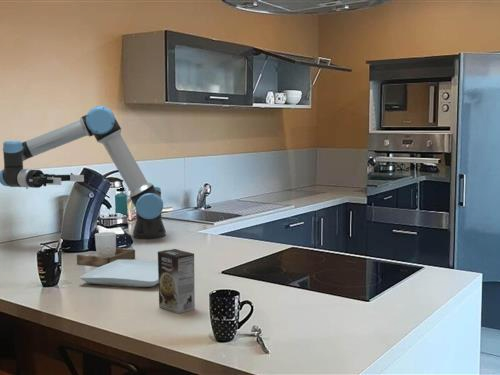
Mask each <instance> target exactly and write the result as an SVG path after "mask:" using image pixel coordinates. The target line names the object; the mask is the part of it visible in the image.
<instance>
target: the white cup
mask: <svg viewBox="0 0 500 375" xmlns="http://www.w3.org/2000/svg"><path fill="white" fill-rule="evenodd" d="M94 241H95V242H94V243H95V251H96V256H99V257H112V256H115V252H116V248H117V233H116V232H115V231H114V232H113V231H104V232H103V231H101V232H97V233H95V234H94Z"/></svg>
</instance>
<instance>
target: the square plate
mask: <svg viewBox="0 0 500 375" xmlns="http://www.w3.org/2000/svg"><path fill="white" fill-rule="evenodd" d="M79 279H81V280H82V281H84V282H85V283H88V284H94V285H95V284H96V285H103V286H104V285H105V286H118V287H131V286H134V287H136V288H148V287H154V286H156V285H157V284H159V280H158V259H157V260H155V259H132V260H116V261H113V262H111V263H108V264H106V265H103V266H101V267H99V266H97V267H96V268H93V269H92V270H90V271H88V272H86V273H84V274H83V275H80V276H79Z"/></svg>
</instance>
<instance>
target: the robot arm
mask: <svg viewBox="0 0 500 375" xmlns="http://www.w3.org/2000/svg"><path fill="white" fill-rule="evenodd" d="M122 130H123V129H122V128H121V126H120V124H119V122H118V120H117V118H116V117H115V114H114V112H113V111H112V110H111V109H110V108H108V107H106V106H104V105H103V106H102V105H96V106H95V107H92V108H91V109H90V110H89V111H88V112H87V114H85V115H82V116H81V117H80V119H79V120H77V121H74V122H71V123H69V124H66V125H64V126H61V127H58V128H56V129H54V130H53V129H52V130H50V131H48V132H46V133H43V134H41V135H38V136H35V137H33V138H31V139H27V140H26V141H23V142H22V141H20V140H7V141H5V140H4V142H3V144H2V146H3V147H2V154H3V169H2V170H0V184H1V185H2V186H4V187H10V188H25V189H27V190H28V189H29V188H32V189H33V188H35V189H38V188H39V189H40V188H41V187H42V186H43V187H47V185H54V186H61V185H62V182H73V183H74V182H75V183H76V182H78V183H81V182H82V183H83V182H85V178H84V177H85V175H84V174H74V173H73V172H71V173H70V174H51V173H44V172H43V170H41V169H31V168H30V169H29V168H25V169H24V161H27V160H29V159H30V158H33V157H35V156H39V155H40V154H44V153H46V152H48V151H50V150H53V149H56V148H58V147H59V148H60V147H61V146H64V145H66V144H69V143H71V142H73V141H76V140H80V139H82V138H84V137H89V138H90V137H93V136H94V138H95V140H96V142H97V143H100V144H102V145H103V147H104V149H105V150H106V151H107V154H108V156H110V159H111V161H112V162H113V164H114V165H115V167H116V170H117V171H118V173H119V174H120V176H121V178H122V179H123V180H122V181H124V183H125V185H126V186H127V188H128V190H129V196H128V197H129V199H130V201H131V202H132V203H133V206H134V207H135V214H136V215H135V216H136V218H135V219H136V220H135V224H134V227H133V231H132V237H133V238H135V239H146V240H147V239H157V238H163V237H165V236H166V235H167V234H166V228H165V225H164V223H163V219H162V212H163V210H164V201H163V199H162V191H161V187H159V186H154V184H153V183H151V182H148V180H147V178H146V177H145V175H144V173H143V172H142V170H141V168H140V166H139V165H138V162H137V161H136V160H135V157H134V156H133V154H132V152H131V151H130V149H129V147H128V145H127V143H126V142H125V140H124V138H123V136H122V134H121V133H122Z"/></svg>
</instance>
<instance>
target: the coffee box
mask: <svg viewBox="0 0 500 375" xmlns="http://www.w3.org/2000/svg"><path fill="white" fill-rule="evenodd" d="M157 260H158V280H159V283H158V307H159V308H161V309H165V310H167V311H169V312H171V313H175V314H177V315H178V314H182V313H186V312H189V311H193V310H195V309H196V308H195V306H196V305H195V304H196V303H195V300H196V299H195V297H196V296H195V295H196V294H195V292H196V291H195V253H192V252H188V251H184V250H181V249H176V248H172V249H164V250H161V251H160V250H159V251H157Z"/></svg>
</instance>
